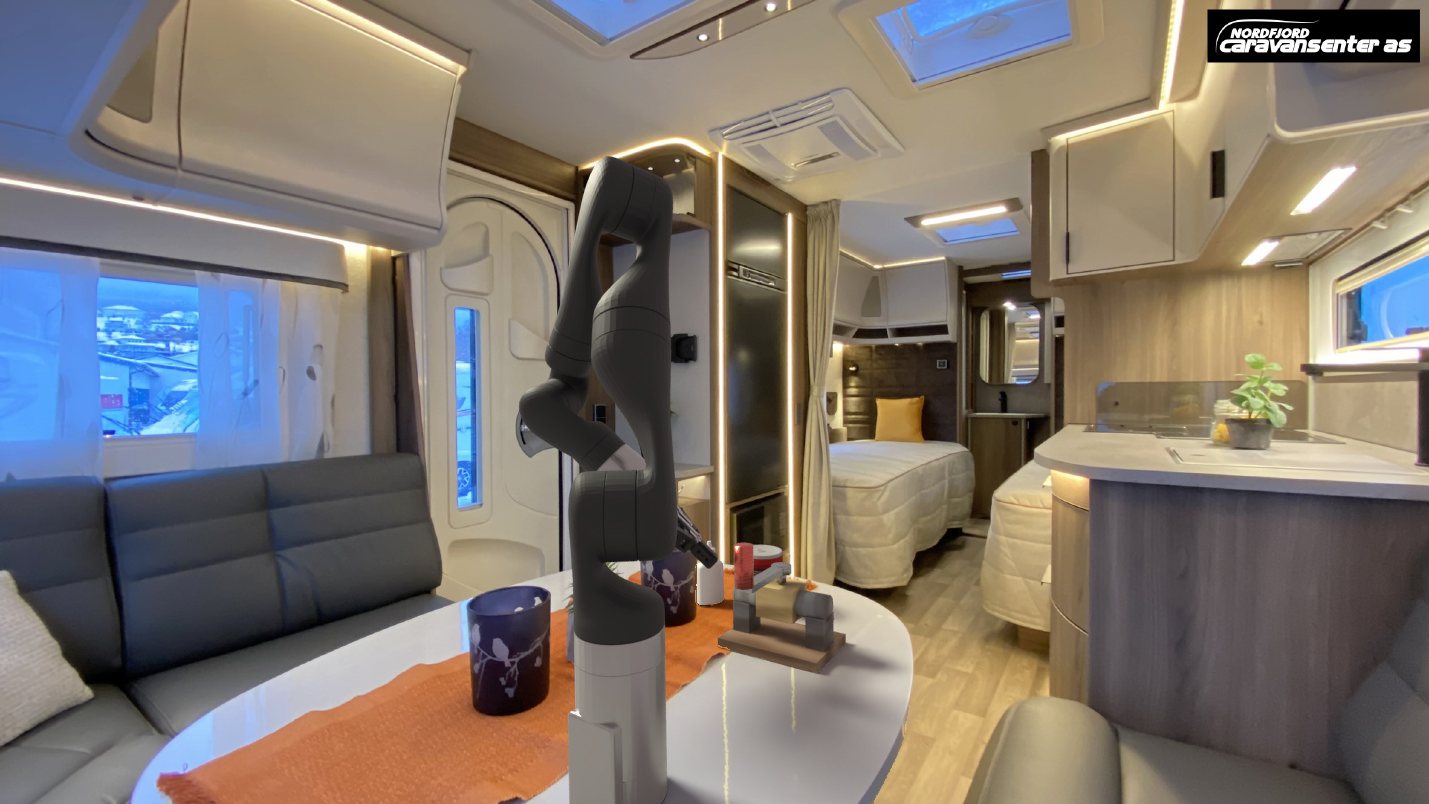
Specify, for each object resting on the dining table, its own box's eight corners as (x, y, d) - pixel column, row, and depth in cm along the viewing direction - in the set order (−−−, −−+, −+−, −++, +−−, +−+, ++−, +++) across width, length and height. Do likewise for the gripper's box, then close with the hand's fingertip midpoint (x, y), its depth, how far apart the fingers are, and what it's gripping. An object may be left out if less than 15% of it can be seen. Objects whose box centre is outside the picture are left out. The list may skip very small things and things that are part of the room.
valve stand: (816, 673, 86) (815, 605, 85) (717, 647, 95) (717, 585, 95) (845, 643, 96) (845, 581, 95) (754, 621, 105) (753, 566, 105)
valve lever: (777, 577, 97) (776, 525, 97) (794, 580, 95) (794, 527, 95) (729, 606, 85) (729, 545, 84) (749, 610, 83) (748, 548, 83)
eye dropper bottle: (695, 599, 117) (694, 538, 116) (723, 598, 117) (722, 538, 117) (695, 607, 112) (695, 544, 112) (725, 606, 113) (724, 543, 112)
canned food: (762, 597, 117) (761, 542, 117) (792, 608, 111) (791, 550, 111) (733, 606, 112) (732, 549, 112) (763, 618, 106) (762, 558, 106)
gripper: (640, 470, 81) (730, 558, 81) (654, 458, 94) (732, 534, 94) (603, 508, 81) (692, 596, 81) (622, 491, 95) (699, 567, 94)
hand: (714, 563), depth 88 cm, fingers closed
